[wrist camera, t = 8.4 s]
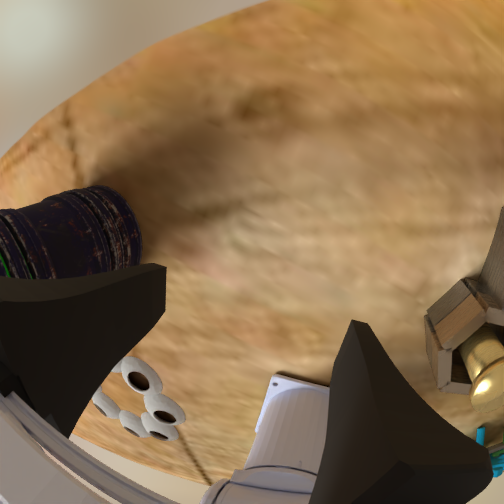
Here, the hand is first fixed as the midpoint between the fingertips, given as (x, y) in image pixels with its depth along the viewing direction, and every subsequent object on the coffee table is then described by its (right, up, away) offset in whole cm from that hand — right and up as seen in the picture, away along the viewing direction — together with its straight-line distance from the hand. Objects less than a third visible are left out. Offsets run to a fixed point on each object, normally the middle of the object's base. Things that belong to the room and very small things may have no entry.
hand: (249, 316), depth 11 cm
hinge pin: (+17, -3, +7) cm, 18 cm away
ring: (-17, -16, +23) cm, 33 cm away
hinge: (+20, -1, +6) cm, 21 cm away
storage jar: (-14, +4, +15) cm, 20 cm away
